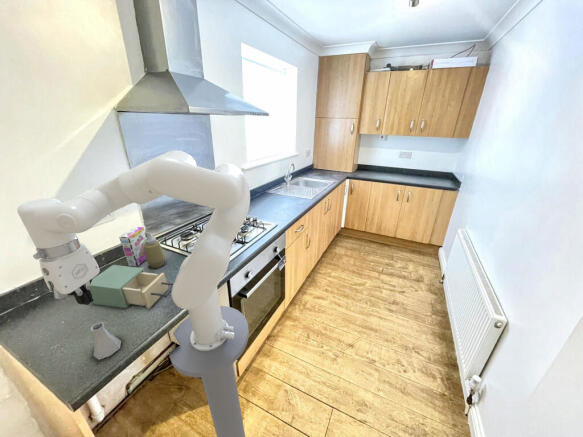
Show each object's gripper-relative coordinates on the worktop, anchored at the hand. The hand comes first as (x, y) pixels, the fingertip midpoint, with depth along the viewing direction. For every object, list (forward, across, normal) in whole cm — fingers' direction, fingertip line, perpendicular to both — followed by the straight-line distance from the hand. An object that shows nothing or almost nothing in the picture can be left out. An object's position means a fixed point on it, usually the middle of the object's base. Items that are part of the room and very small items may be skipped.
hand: (86, 302), depth 66 cm
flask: (+19, 0, 0) cm, 19 cm away
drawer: (+18, +22, +2) cm, 28 cm away
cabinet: (+19, +22, +15) cm, 33 cm away
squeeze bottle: (+19, +43, +15) cm, 49 cm away
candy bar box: (+19, +45, +26) cm, 55 cm away
